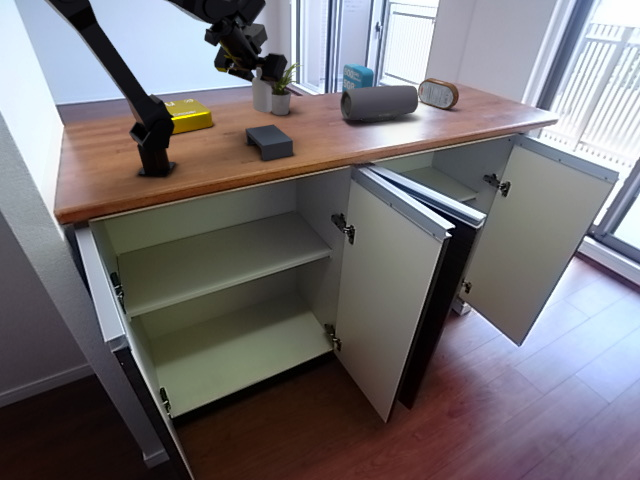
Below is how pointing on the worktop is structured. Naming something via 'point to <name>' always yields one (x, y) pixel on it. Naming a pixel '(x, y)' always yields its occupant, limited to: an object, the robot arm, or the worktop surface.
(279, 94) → the house plant
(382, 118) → the bluetooth speaker
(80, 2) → the robot arm
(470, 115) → the worktop surface
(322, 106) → the worktop surface
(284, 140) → the shelf
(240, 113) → the worktop surface
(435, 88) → the tin
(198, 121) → the element tile
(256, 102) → the eye dropper bottle
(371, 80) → the data package
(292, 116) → the worktop surface
